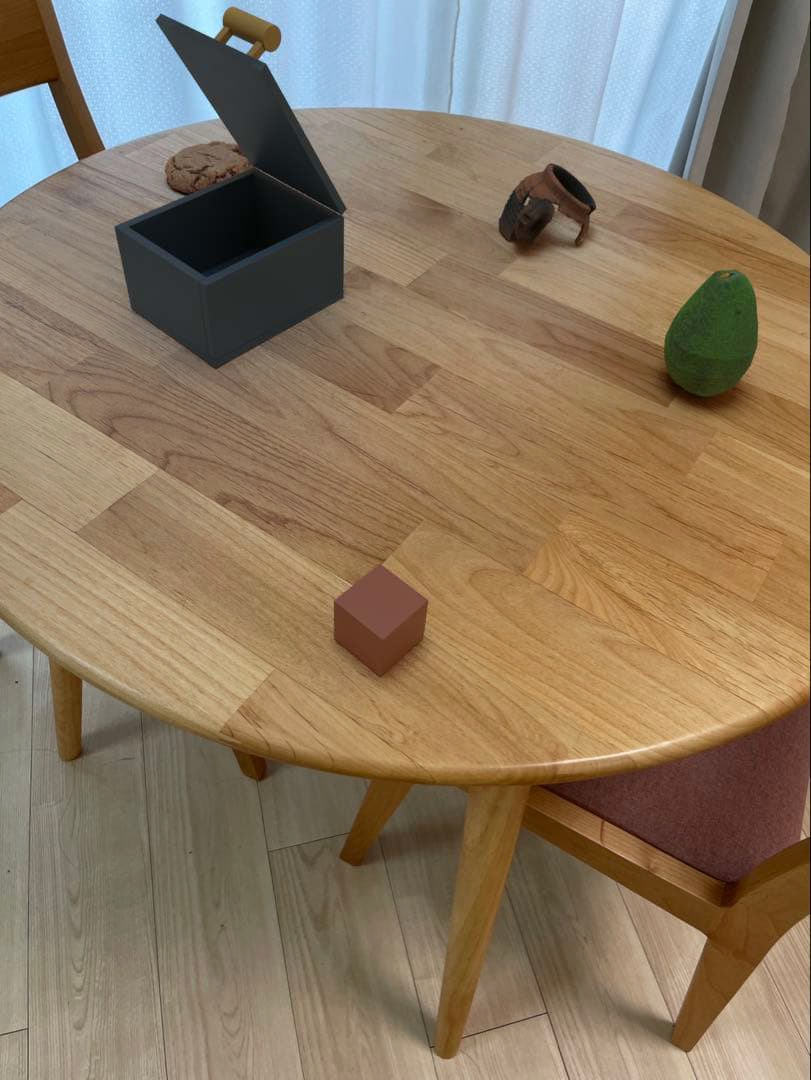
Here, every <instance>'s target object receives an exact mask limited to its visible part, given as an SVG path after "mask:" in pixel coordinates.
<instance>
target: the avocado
mask: <svg viewBox="0 0 811 1080" xmlns="http://www.w3.org/2000/svg"><path fill="white" fill-rule="evenodd" d="M665 333H666V334H665V337H664V342H663V343H664V346H663V357H664V364H665V368H666V370H667V372H668V374H669V376H670V379H672V381H673V383H675V384H676V385H677V386H679V387H680V388H682V389H683V390H685V391H686V392H688V393H690V394H693V395H695V396H698V397H705V398H707V397H708V398H713V397H717V396H718V395H721V394H723V393H725V392H727V391H729V390H731V389H734V388H735V387H736V386H737V384H738V383H739V382H740V381H741V379H742V378H743V377H744V375H746V373H747V372H748V370H749V369H750V367H751V366H752V364H753V361H754V358H755V355H756V351H757V349H758V342H759V341H758V339H759V318H758V304H757V297H756V292H755V290H754V287H753V285H752V283H751V280H749V278H748V277H747V275H745V274H744V273H742V272H741V271H740V270H737V269H726V270H725V269H724V270H716V271H714V272H713V273H712V274H711V275H710V276H709V277H708V278H707V279H705V281H704V282H703V283H702V284H700V286H699V287H698V288H697V289H696V290H695V292H693V293H692V295H691V296H690V297H689V298H688V299H687V301H686V302H685V303H684V304H683V305H682V307H680V309H679V310H678V311H677V313H676V315H675V316H674V317H673V320H672V322H671V324H670V326H669V328H668V329H667V331H666V332H665Z"/></svg>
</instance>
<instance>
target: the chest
mask: <svg viewBox="0 0 811 1080" xmlns="http://www.w3.org/2000/svg"><path fill="white" fill-rule="evenodd" d="M113 228H114V233H115V238H116V242H117V248H118V252H119V256H120V261H121V265H122V266H121V267H122V271H123V275H124V281H125V284H126V289H127V294H128V299H129V304H130V308H131V310H132V311H134V312H135V313H137V314H138V315H139V316H141V317H142V318H144V319H145V320H147V321H148V322H149V323H151V324H152V325H153V326H155V327H156V328H158V329H159V330H161V331H162V332H163V333H165V334H166V335H168V336H169V337H171V338H172V339H174V340H175V341H176V342H177V343H179V344H180V345H182V346H183V347H185V348H186V350H187V349H188V350H189V351H190V352H192V354H195V355H196V356H197V357H199V358H200V359H201V360H202V361H204V362H206V363H207V364H209V365H210V366H211V367H213V368H214V369H218V368H220V367H222V366H223V365H225V364H227V363H229V362H230V361H233V360H234V359H236V358H238V357H239V356H241V355H243V354H245V353H247V352H248V351H250V350H252V349H254V348H255V347H257V346H259V345H261V344H263V343H264V342H266V341H268V340H269V339H272V338H273V337H275V336H277V335H279V334H280V333H283V332H284V331H286V330H287V329H290V328H291V327H293V326H295V325H296V324H298V323H300V322H302V321H304V320H305V319H307V318H309V317H311V316H312V315H315V314H316V313H318V312H319V311H321V310H323V309H325V308H327V307H329V306H330V305H332V304H334V303H336V302H338V301H339V300H341V299H343V298H344V297H345V290H344V289H345V284H344V283H345V281H344V280H345V216H344V215H341V214H339V213H337V212H335V211H333V210H332V209H330V208H328V207H326V206H324V205H322V204H321V203H319V202H317V201H315V200H313V199H312V198H310V197H308V196H306V195H304V194H302V193H301V192H299V191H297V190H295V189H293V188H292V187H290V186H288V185H286V184H284V183H282V182H281V181H279V180H277V179H275V178H273V177H272V176H270V175H268V174H266V173H264V172H263V171H261V170H259V169H257V168H255V167H253V168H251V169H249V170H246V171H244V172H241V173H239V174H237V175H234V176H232V177H230V178H227V179H225V180H222V181H220V182H218V183H215V184H213V185H211V186H208V187H206V188H204V189H201V190H199V191H196V192H191V193H188V194H187V195H185V196H182V197H180V198H177V199H175V200H173V201H170V202H168V203H166V204H164V205H161V206H159V207H156V208H153V209H151V210H150V211H147V212H145V213H143V214H139V215H137V216H135V217H133V218H130V219H128V220H125V221H123V222H121V223H118V224H116V225H114V226H113Z"/></svg>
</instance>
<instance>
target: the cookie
mask: <svg viewBox="0 0 811 1080" xmlns="http://www.w3.org/2000/svg"><path fill="white" fill-rule="evenodd" d="M251 168H253V166H252V165H251V164H250V163H249V161H248V160H247V158H246V157H245V155H244V154H243V152H242V150H241V149H240V147H239V146H238V144H237V143H231V142H230V143H226V141H220V140H214V141H213V140H212V141H210V142H208V143H200V144H199V143H198V144H195V145H190V146H187V147H183V148H182V149H180V150H179V151H178V152H176V154H174V155H171V156H170V157H169V158H168V160H167V162H166V164H165V167H164V174H165V175H166V183H168V184H169V187H170V188H171V189H174V190H177V191H179V192H182V193H186V194H191V193H194V192H196V191H199V190H201V189H204V188H206V187H208V186H211V185H213V184H215V183H218V182H220V181H222V180H225V179H227V178H230V177H232V176H234V175H237V174H239V173H241V172H244V171H246V170H249V169H251Z"/></svg>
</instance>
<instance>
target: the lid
mask: <svg viewBox="0 0 811 1080" xmlns="http://www.w3.org/2000/svg"><path fill="white" fill-rule="evenodd" d="M154 21H155V23H156V24H157V26H158V27H159V29H160V31H161V32H162V34H163V35H164V36H165V38H166V39H167V41H168V42H169V44H170V45H171V47H172V48H173V50H174V51H175V53H176V54H177V56H178V57H179V59H180V61H181V62H182V63H183V65H184V67H185V68H186V69H187V71H188V72H189V74H190V76H191V78H193V80H194V82H195V83H196V85H197V86H198V88H199V89H200V91H201V92H202V94H203V95H204V96H205V98H206V100H207V101H208V102H209V104H210V105H211V107H212V108H213V110H214V112H215V113H216V114H217V116H218V118H219V119H220V120H221V122H222V123H223V125H224V127H225V128H226V130H227V131H228V133H229V134H230V136H231V138H233V140H234V142H235V144H236V145H238V146H239V147H240V149H241V150H242V152H243V154H244V155H245V157H246V158H247V160H248V161H249V163H250V164H251V165H252V166H253V167H255V168H257V169H258V170H260V171H262V172H264V173H265V174H267V175H269V176H271V177H273V178H274V179H276V180H278V181H280V182H282V183H284V184H285V185H287V186H289V187H291V188H293V189H294V190H296V191H298V192H300V193H302V194H304V195H305V196H307V197H309V198H311V199H313V200H314V201H316V202H318V203H320V204H322V205H323V206H325V207H327V208H329V209H331V210H333V211H334V212H336V213H337V214H340V215H342V216H344V215H343V214H344V213H345V212H346V211H347V210H348V208H347V207H346V204H345V203H344V201H343V199H342V197H341V196H340V194H339V192H338V190H337V188H336V187H335V185H334V183H333V181H332V179H331V178H330V175H329V174H328V172H327V170H326V169H325V166H324V165H323V163H322V161H321V160H320V158H319V156H318V154H317V153H316V150H315V149H314V147H313V145H312V143H311V142H310V140H309V138H308V136H307V134H306V132H305V131H304V129H303V127H302V125H301V123H300V121H299V120H298V118H297V117H296V114H295V112H294V111H293V109H292V107H291V106H290V104H289V102H288V100H287V99H286V96H285V95H284V93H283V91H282V89H281V87H280V85H279V84H278V82H277V80H276V78H275V77H274V75H273V73H272V71H271V69H270V67H269V66H268V65H267V63H266V62H264V61H261V60H260V59H261V57H262V56H263V55H264V53H265V52H269V53H274V52H276V51H277V50H278V48H279V47H280V45H281V43H282V31H281V29H280V27H279V26H278V25H276V24H274V23H272V22H269V21H267V20H265V19H263V18H261V17H259V16H257V15H254V14H252V13H250V12H247V11H245V10H243V9H240V8H238V7H236V6H229V7H228V8H227V9H225V11H224V13H223V16H222V28H221V29H220V31H219V32H218V33H217V34H216V35H215V36H214V37H212V36H210V35H207V34H205V33H203V32H201V31H200V30H199V31H198V30H196V29H195V28H192V27H190V26H189V25H187V24H184V23H182V22H180V21H179V20H175V19H174V18H171V17H169V16H167V15H165V14H163V13H159V15H158V16H157V17H156V18H155V20H154ZM232 37H236V38H238V39H240V40H242V41H244V42H246V43H249V44H250V45H252V46H251V47H250V48H249V49H248V51H247V52H246V53H245V52H244V51H241V50H239V49H236V48H235V47H233V46H230V45H228V44H227V43H228V42H229V41H230V39H232Z"/></svg>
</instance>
